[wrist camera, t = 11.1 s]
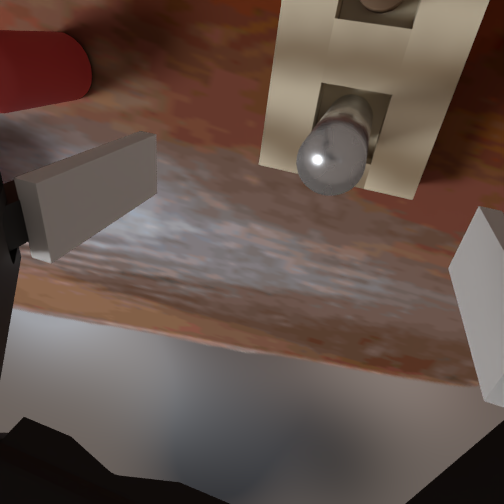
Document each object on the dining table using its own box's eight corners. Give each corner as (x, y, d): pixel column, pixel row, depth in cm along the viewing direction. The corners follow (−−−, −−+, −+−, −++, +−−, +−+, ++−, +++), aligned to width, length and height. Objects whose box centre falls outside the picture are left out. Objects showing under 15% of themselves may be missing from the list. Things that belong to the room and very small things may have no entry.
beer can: (102, 55, 39) (3, 61, 29) (86, 111, 42) (-6, 133, 32) (49, 17, 38) (-69, 9, 28) (38, 77, 42) (-70, 88, 32)
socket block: (310, -110, 27) (292, -147, 22) (514, -95, 25) (550, -133, 19) (269, 153, 38) (250, 172, 33) (410, 184, 35) (414, 210, 30)
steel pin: (332, 90, 32) (303, 121, 21) (378, 98, 32) (374, 135, 20) (322, 136, 35) (291, 187, 23) (365, 144, 34) (355, 202, 22)
